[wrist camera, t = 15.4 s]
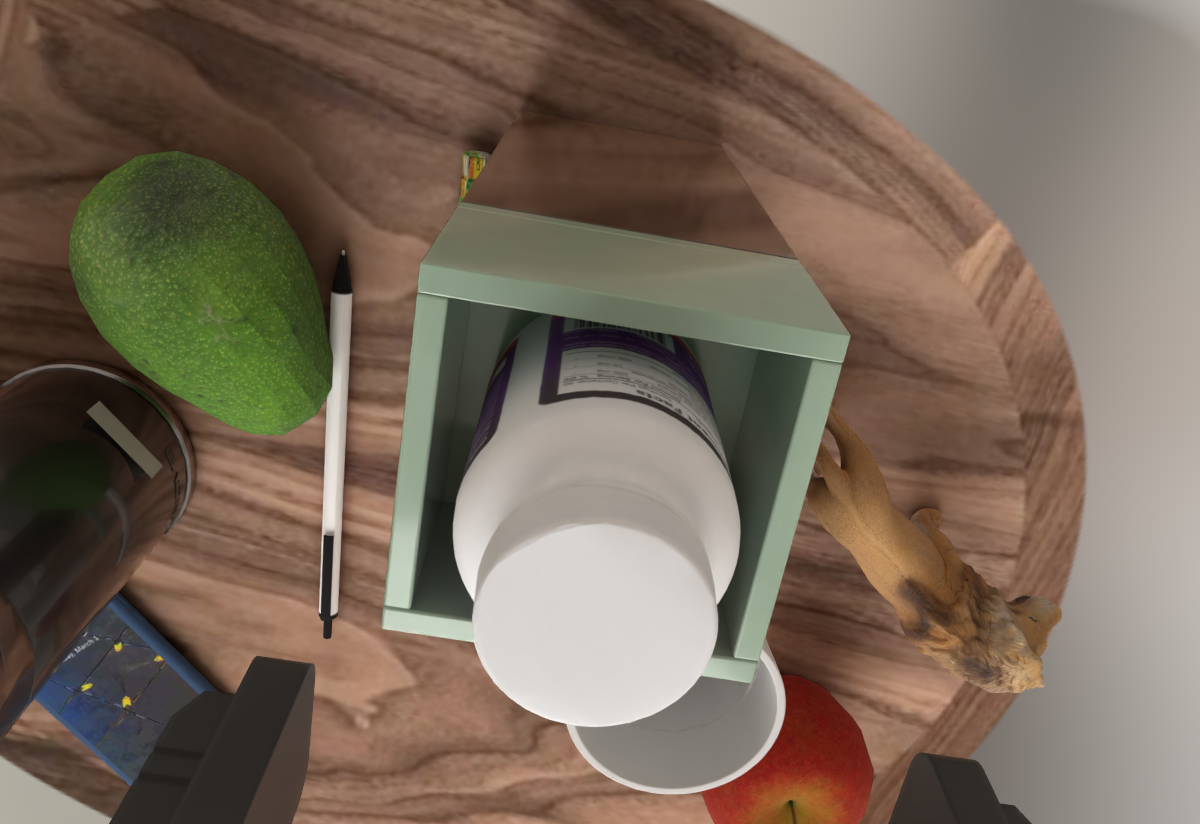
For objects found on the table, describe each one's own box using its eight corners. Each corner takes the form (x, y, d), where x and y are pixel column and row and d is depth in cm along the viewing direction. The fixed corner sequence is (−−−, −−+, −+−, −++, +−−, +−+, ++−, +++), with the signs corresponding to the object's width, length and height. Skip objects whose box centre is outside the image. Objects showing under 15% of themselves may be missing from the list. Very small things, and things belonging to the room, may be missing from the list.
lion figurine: (1019, 541, 48) (1105, 658, 40) (936, 616, 50) (1002, 744, 42) (788, 354, 45) (829, 440, 36) (706, 441, 46) (728, 542, 38)
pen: (320, 630, 50) (314, 643, 49) (335, 246, 43) (328, 253, 42) (338, 632, 50) (333, 646, 49) (356, 249, 43) (350, 256, 42)
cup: (622, 436, 46) (627, 581, 35) (776, 507, 48) (827, 668, 37) (546, 573, 49) (527, 747, 38) (694, 636, 50) (718, 822, 39)
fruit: (164, 99, 40) (341, 321, 48) (-6, 228, 38) (207, 439, 46) (231, 116, 34) (422, 367, 42) (34, 269, 32) (272, 506, 40)
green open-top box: (492, 306, 44) (380, 630, 22) (519, 109, 41) (419, 262, 19) (681, 337, 44) (753, 685, 23) (722, 145, 41) (851, 335, 20)
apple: (864, 749, 53) (905, 870, 46) (717, 786, 54) (733, 911, 47) (829, 628, 50) (866, 737, 43) (674, 670, 51) (684, 784, 44)
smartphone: (173, 829, 54) (-46, 631, 49) (179, 817, 55) (-36, 622, 50) (283, 764, 53) (68, 552, 48) (288, 752, 53) (76, 544, 49)
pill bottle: (575, 534, 27) (558, 812, 18) (444, 376, 25) (354, 597, 16) (750, 423, 26) (826, 662, 17) (626, 250, 24) (637, 413, 15)
